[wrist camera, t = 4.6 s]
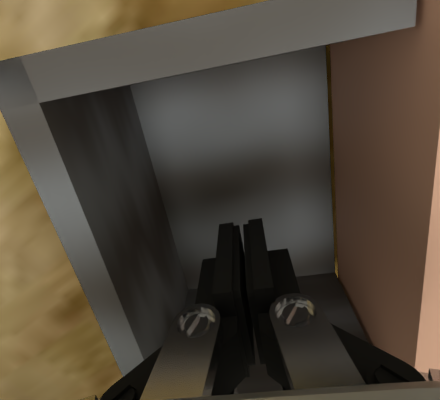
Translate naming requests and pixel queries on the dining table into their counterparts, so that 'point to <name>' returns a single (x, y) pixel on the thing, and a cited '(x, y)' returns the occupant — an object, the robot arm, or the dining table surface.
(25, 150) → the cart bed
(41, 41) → the dining table surface
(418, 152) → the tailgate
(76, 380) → the dining table surface
